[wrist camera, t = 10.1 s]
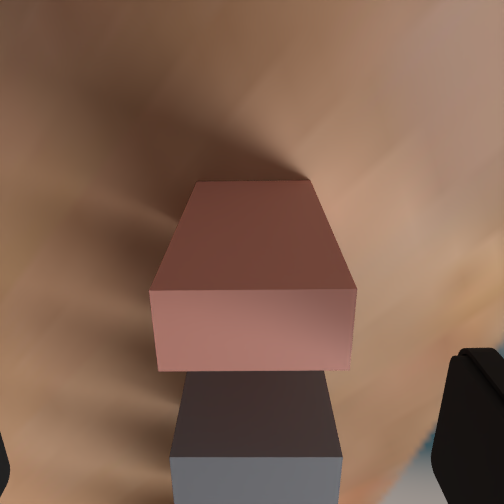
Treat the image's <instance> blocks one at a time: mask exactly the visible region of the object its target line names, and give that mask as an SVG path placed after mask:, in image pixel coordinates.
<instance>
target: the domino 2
mask: <svg viewBox="0 0 504 504" xmlns="http://www.w3.org/2000/svg"><path fill="white" fill-rule="evenodd" d="M169 458H170V468H171V477H172V487H173V497H174V504H338V498H339V488H340V479H341V469H342V460H343V456H342V452H341V447H340V443H339V438H338V433H337V429H336V424H335V420H334V415H333V411H332V406H331V401H330V397H329V392H328V388H327V383H326V378H325V374H324V370H306V371H187V375H186V379H185V384H184V389H183V394H182V399H181V404H180V408H179V413H178V418H177V423H176V428H175V433H174V438H173V442H172V447H171V452H170V457H169Z"/></svg>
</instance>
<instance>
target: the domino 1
mask: <svg viewBox="0 0 504 504" xmlns="http://www.w3.org/2000/svg"><path fill="white" fill-rule="evenodd" d="M149 296H150V304H151V313H152V322H153V330H154V339H155V347H156V356H157V365H158V371H306V370H350V361H351V350H352V339H353V329H354V318H355V307H356V296H357V288H356V285H355V283H354V281H353V278H352V276H351V274H350V271H349V269H348V267H347V264H346V262H345V260H344V257H343V255H342V253H341V250H340V248H339V246H338V243H337V241H336V239H335V236H334V234H333V232H332V229H331V227H330V225H329V222H328V220H327V218H326V216H325V213H324V211H323V209H322V206H321V204H320V202H319V199H318V197H317V195H316V192H315V190H314V188H313V185H312V183H311V181H310V180H288V181H197V182H196V184H195V186H194V189H193V191H192V193H191V196H190V198H189V200H188V202H187V205H186V207H185V209H184V212H183V214H182V216H181V218H180V221H179V223H178V225H177V228H176V230H175V232H174V234H173V237H172V239H171V241H170V244H169V246H168V248H167V250H166V253H165V255H164V257H163V260H162V262H161V264H160V266H159V269H158V271H157V273H156V276H155V278H154V280H153V282H152V285H151V287H150V289H149Z"/></svg>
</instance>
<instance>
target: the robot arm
mask: <svg viewBox="0 0 504 504" xmlns="http://www.w3.org/2000/svg"><path fill="white" fill-rule="evenodd" d="M431 463H432V468H433V472H434V474H435V477H436V479H437V481H438V483H439V485H440V487H441V489H442V492H443V493H444V496H445V498H446V500H447V502H448V504H504V359H503V357H502V356H501V355H500V354H499V353H498V352H497V351H496V350H495V349H493V348H463V349H461V350H460V352H459V354H458V356H453V357H452V358H451V360H450V363H449V368H448V373H447V378H446V383H445V388H444V393H443V398H442V403H441V408H440V413H439V418H438V423H437V428H436V433H435V437H434V442H433V448H432V453H431ZM9 475H10V464H9V461H8V457H7V454H6V450H5V447H4V443H3V440H2V436H1V433H0V497H1V495H2V493H3V491H4V489H5V487H6V485H7V483H8V480H9Z"/></svg>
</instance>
